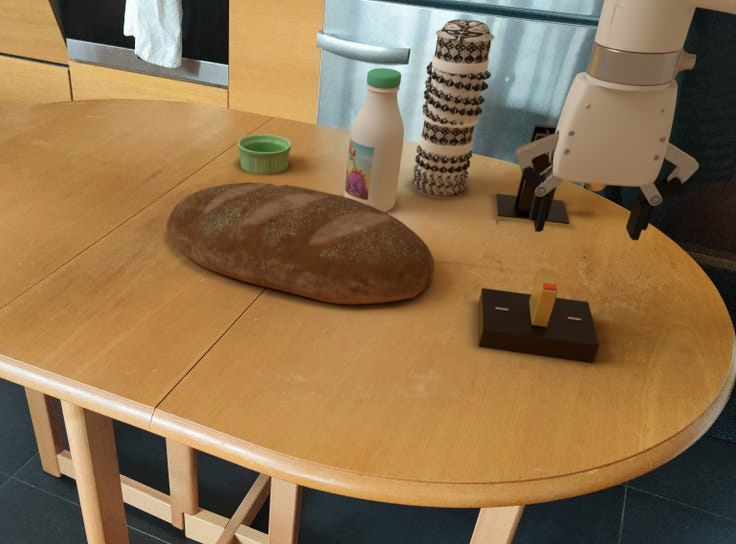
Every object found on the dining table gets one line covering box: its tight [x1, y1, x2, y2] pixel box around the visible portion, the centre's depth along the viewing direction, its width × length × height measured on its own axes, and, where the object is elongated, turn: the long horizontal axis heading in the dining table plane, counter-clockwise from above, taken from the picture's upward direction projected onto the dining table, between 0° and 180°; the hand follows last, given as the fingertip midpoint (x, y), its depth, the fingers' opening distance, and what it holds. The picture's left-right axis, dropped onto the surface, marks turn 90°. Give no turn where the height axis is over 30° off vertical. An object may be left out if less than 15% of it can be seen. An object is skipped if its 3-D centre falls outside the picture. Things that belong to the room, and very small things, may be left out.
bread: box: [165, 181, 436, 305], centre depth 93 cm, size 22×37×8 cm, turn 62°
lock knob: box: [529, 267, 558, 327], centre depth 79 cm, size 5×2×5 cm, turn 166°
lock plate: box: [477, 287, 600, 364], centre depth 81 cm, size 12×9×3 cm
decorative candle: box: [411, 18, 495, 197], centre depth 107 cm, size 9×9×25 cm
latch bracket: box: [495, 123, 570, 225], centre depth 104 cm, size 10×8×13 cm
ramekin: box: [237, 133, 292, 175], centre depth 120 cm, size 9×9×4 cm
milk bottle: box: [343, 67, 405, 214], centre depth 103 cm, size 8×8×20 cm
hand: (584, 230), depth 77 cm, fingers open, 9 cm apart
